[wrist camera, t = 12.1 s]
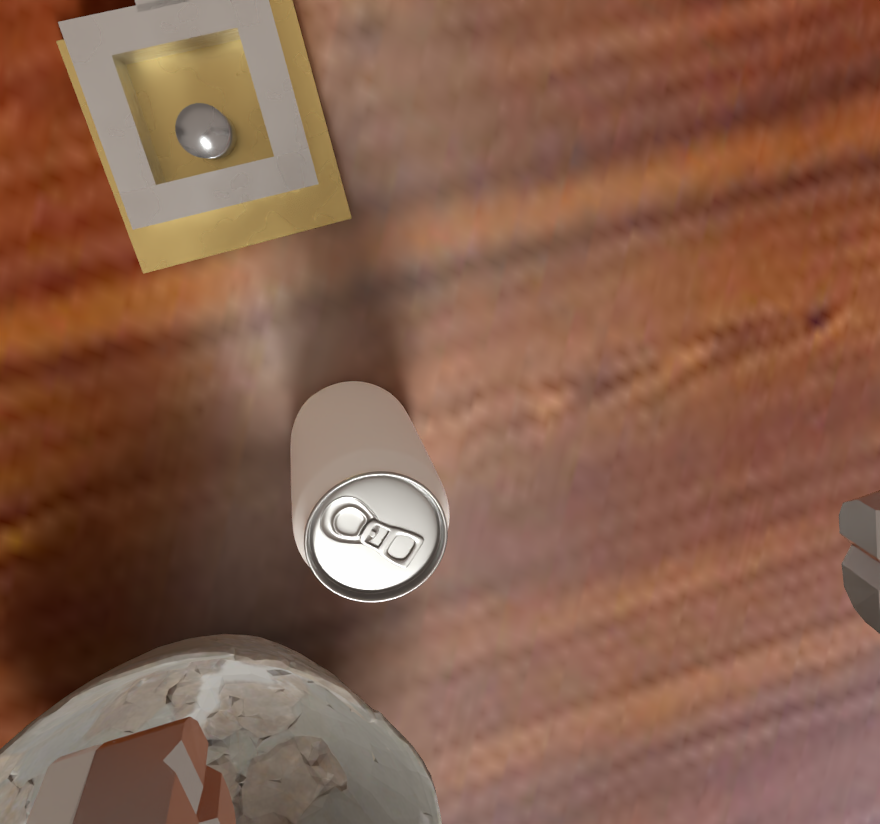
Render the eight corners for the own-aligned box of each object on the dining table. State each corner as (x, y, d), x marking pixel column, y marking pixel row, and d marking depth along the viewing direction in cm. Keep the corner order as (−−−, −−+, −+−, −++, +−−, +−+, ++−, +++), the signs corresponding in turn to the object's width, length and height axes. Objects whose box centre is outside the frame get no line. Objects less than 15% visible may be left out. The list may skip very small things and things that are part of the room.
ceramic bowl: (375, 509, 42) (400, 607, 33) (435, 822, 50) (470, 973, 41) (-47, 602, 39) (-150, 737, 30) (86, 919, 47) (36, 1106, 38)
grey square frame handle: (21, -124, 30) (-6, -153, 27) (222, -163, 31) (216, -195, 28) (145, 224, 35) (132, 229, 32) (315, 182, 36) (318, 184, 33)
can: (329, 356, 39) (346, 432, 28) (433, 414, 41) (489, 506, 30) (267, 460, 40) (261, 573, 29) (372, 511, 42) (404, 636, 31)
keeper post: (288, -8, 34) (289, -42, 28) (350, 216, 37) (361, 226, 32) (62, 44, 33) (17, 19, 27) (146, 270, 36) (121, 289, 31)
